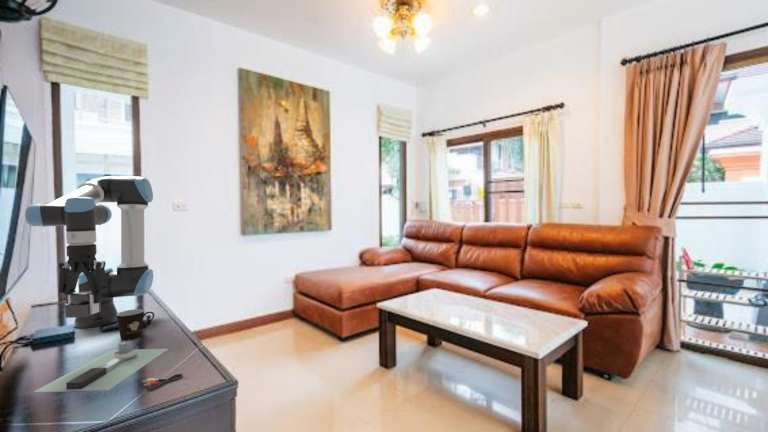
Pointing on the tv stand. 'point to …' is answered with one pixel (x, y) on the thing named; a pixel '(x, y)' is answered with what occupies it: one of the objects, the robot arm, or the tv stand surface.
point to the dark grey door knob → (79, 305)
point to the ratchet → (104, 367)
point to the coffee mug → (131, 323)
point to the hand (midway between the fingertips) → (83, 313)
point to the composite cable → (156, 383)
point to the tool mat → (112, 376)
